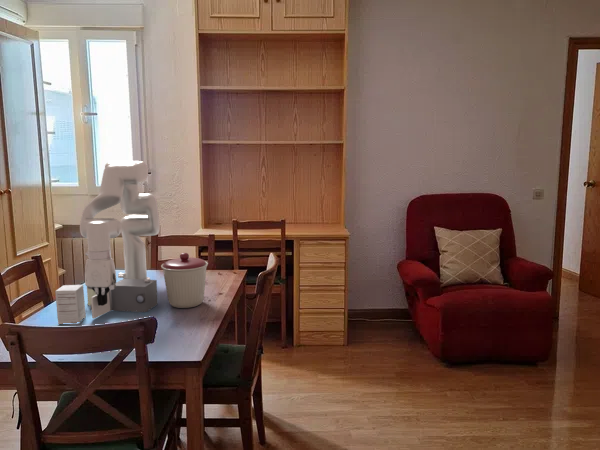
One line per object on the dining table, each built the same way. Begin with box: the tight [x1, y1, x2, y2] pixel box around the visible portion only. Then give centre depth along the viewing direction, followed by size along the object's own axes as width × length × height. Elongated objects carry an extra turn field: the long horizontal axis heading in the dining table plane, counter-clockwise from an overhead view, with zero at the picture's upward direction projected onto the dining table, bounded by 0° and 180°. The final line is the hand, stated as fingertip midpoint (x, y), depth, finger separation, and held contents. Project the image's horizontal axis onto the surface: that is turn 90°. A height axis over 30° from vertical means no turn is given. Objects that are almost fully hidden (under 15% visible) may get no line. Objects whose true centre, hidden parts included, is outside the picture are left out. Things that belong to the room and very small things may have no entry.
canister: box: [160, 252, 209, 309], centre depth 190 cm, size 18×18×21 cm
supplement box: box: [54, 284, 87, 324], centre depth 173 cm, size 7×7×13 cm
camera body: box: [111, 278, 159, 313], centre depth 187 cm, size 14×11×11 cm
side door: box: [89, 290, 112, 320], centre depth 179 cm, size 10×2×8 cm, turn 164°
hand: (102, 304), depth 175 cm, fingers closed
